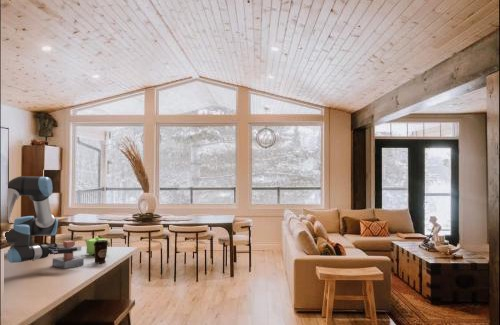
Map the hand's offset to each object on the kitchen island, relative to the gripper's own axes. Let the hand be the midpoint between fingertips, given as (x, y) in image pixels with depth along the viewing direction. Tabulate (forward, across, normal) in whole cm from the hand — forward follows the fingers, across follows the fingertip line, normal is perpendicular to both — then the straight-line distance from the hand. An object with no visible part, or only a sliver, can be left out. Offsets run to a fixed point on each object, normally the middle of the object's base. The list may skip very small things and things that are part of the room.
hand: (73, 246), depth 236 cm
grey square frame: (-3, 0, -10) cm, 11 cm away
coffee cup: (+14, +7, -11) cm, 19 cm away
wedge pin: (-3, 0, -10) cm, 11 cm away
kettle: (+26, -14, -11) cm, 31 cm away
